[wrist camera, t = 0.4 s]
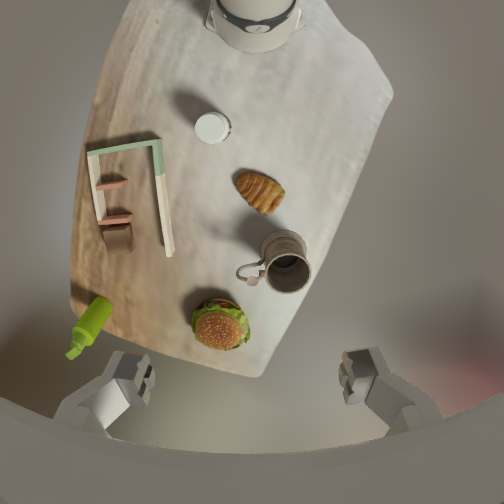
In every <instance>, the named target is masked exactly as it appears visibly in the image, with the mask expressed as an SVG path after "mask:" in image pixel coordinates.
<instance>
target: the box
mask: <svg viewBox="0 0 504 504" xmlns="http://www.w3.org/2000/svg"><path fill="white" fill-rule="evenodd" d="M151 145H152V147H153V159H154V169H155V178H156V187H157V195H158V203H159V210H160V217H161V224H162V231H163V237H164V243H165V249H166V255H167V257H172V255H173V253H174V251H175V249H174V242H173V236H172V229H171V221H170V214H169V206H168V198H167V189H166V180H165V170H164V160H163V148H162V139H155V140H149V141H142V142H136V143H130V144H124V145H118V146H113V147H108V148H103V149H98V150H94V151H89V152H87V158H88V166H89V174H90V180H91V187H92V193H93V199H94V205H95V210H96V215H97V220H98V225H106V224H119V223H128V222H129V221H130V220H132V219H133V214H123V215H112V216H107V211H106V205H105V200H104V193H103V190H107V189H114V188H122V187H124V186H126V185H128V180H121V181H114V182H107V183H102V180H101V173H100V165H99V157H98V154H103V153H108V152H114V151H119V150H125V149H131V148H137V147H144V146H151Z"/></svg>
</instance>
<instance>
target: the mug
mask: <svg viewBox="0 0 504 504" xmlns="http://www.w3.org/2000/svg"><path fill="white" fill-rule="evenodd" d="M306 250H307V249H306V245H305V242H304V241H303V239H302V238H301V236H299V235H298V234H296V233H295V232H292V231H289V230H280V231H277V232H273V233H272V234H270V235H269V236H267V237H266V239H265V240H264V241H263V242H262V245H261V248H260V257H261V260H260V261H258V262H257V263H252V264H247V265H244V266H241V267H240V268H239V269H238V270H237V271H236V276H237V278H238V279H240V280H242V281H246V283H247V284H248V285H249V286H255V285H257V284H258V281H259V280H261V278H262V277H265V279H266V282H267V284H268V285H269V287H270V288H271V289H273V290H274V291H276V292H278V293H282V294H292V293H295V292H298V291H300V290H301V289H303V288H304V287H305V286H306V285H307V284H308V282H309V280H310V278H311V268H310V264H309V263H308V261H307V260H306ZM285 255H294V256H298V258H297V260H296V262H295V263H294V264H293V265H291V266H290V267H286V268H281V267H277V266H276V265H274V264H273V263H272V262H273V261H274V260H276V259H277V258H279V257H281V256H285ZM263 263H264V265H265V267H266V269H265V271H263V270H259V277H257V278H256V277H249V278H245V277H241V276H240V275H239V272H240V271H241V270H243V269H245V268H250V267H255V266H258V265H259V266H260V265H262V264H263Z"/></svg>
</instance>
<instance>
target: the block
mask: <svg viewBox="0 0 504 504" xmlns="http://www.w3.org/2000/svg"><path fill="white" fill-rule="evenodd" d="M103 236H104V240H105V244H106V248H107V252H108V255H121V254H130V253H131V252H132V251H133V249H134V248H135V247H136V246H135V241H134V236H133V231H132V225H131V224H121V225H110V226H109V227H108V228H106V229H105V230H104V231H103Z"/></svg>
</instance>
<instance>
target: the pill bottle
mask: <svg viewBox="0 0 504 504" xmlns="http://www.w3.org/2000/svg"><path fill="white" fill-rule="evenodd" d="M231 129H232V126H231V122H230V120H229V119H228V118H227V117H226V116H225V115H223V114H221V113H218V112H208V113H205V114H203V115H202V116H201V117H200V118H199V119H198V120H197V122H196V124H195V133H196V136H197V138H198V139H199V140H200V141H201V142H203V143H205V144H210V145H211V144H217V143H219V142H222V141H224V140H225V139H226V138H227V137H228V136H229V135H230V133H231Z"/></svg>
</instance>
